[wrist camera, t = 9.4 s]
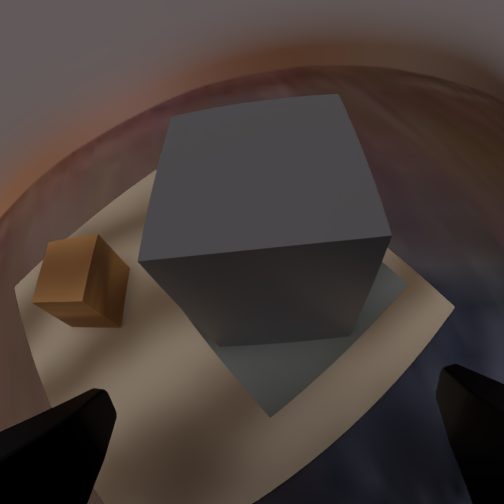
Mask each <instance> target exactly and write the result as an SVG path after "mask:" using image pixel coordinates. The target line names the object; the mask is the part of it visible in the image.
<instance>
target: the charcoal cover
mask: <svg viewBox="0 0 504 504" xmlns="http://www.w3.org/2000/svg"><path fill="white" fill-rule="evenodd" d="M391 237H392V234H391V231H390V228H389V224H388V221H387V218H386V215H385V212H384V208H383V205H382V202H381V199H380V196H379V193H378V191H377V188H376V185H375V182H374V179H373V176H372V174H371V171H370V168H369V166H368V163H367V160H366V158H365V155H364V153H363V150H362V147H361V145H360V142H359V140H358V138H357V135H356V133H355V130H354V128H353V126H352V123H351V121H350V119H349V116H348V114H347V112H346V109H345V107H344V105H343V103H342V101H341V98H340V96H339V94H329V95H313V96H301V97H290V98H280V99H271V100H263V101H255V102H248V103H241V104H235V105H229V106H223V107H217V108H211V109H206V110H201V111H196V112H191V113H186V114H181V115H177V116H172V117H171V120H170V123H169V126H168V130H167V133H166V137H165V141H164V144H163V148H162V152H161V155H160V159H159V163H158V167H157V171H156V175H155V179H154V183H153V188H152V192H151V196H150V201H149V205H148V210H147V214H146V219H145V224H144V229H143V234H142V239H141V245H140V250H139V256H138V261H137V262H138V263H139V264H140V265H141V266H142V267H143V268H144V269H145V270H146V272H147V273H148V274H149V275H150V276H151V277H152V278H153V279H154V280H155V281H156V282H157V284H158V285H159V286H160V287H161V288H162V289H163V290H164V291H165V292H166V293H167V294H168V295H169V296H170V297H171V298H172V299H173V301H174V302H175V303H176V304H177V305H178V306H179V307H180V308H181V309H182V310H183V311H184V312H185V313H186V314H187V315H188V316H189V317H190V318H191V319H192V320H193V321H194V322H195V323H196V324H197V325H198V326H199V327H200V328H201V329H202V330H203V331H204V332H205V333H206V334H207V335H208V336H209V337H210V338H211V339H212V340H213V341H214V342H215V343H216V344H217V345H218V346H219V347H226V346H246V345H262V344H276V343H289V342H300V341H310V340H320V339H329V338H338V337H346V336H350V334H351V332H352V330H353V328H354V326H355V324H356V322H357V319H358V317H359V315H360V313H361V311H362V308H363V306H364V304H365V302H366V299H367V297H368V295H369V292H370V290H371V288H372V285H373V283H374V280H375V278H376V275H377V273H378V271H379V268H380V266H381V263H382V260H383V258H384V255H385V253H386V250H387V247H388V245H389V242H390V239H391Z"/></svg>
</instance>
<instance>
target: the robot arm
mask: <svg viewBox="0 0 504 504" xmlns="http://www.w3.org/2000/svg"><path fill="white" fill-rule="evenodd" d="M436 399H437V403H438V406H439V409H440V412H441V415H442V419H443V422H444V425H445V429H446V432H447V436H448V439H449V442H450V445H451V448H452V451H453V453H454V455H455V458H456V460H457V463H458V465H459V468H460V471H461V473H462V476H463V478H464V481H465V484H466V486H467V489H468V492H469V495H470V498H471V500H472V503H473V504H504V384H502V383H500V382H498V381H495V380H493V379H490V378H488V377H486V376H483V375H481V374H479V373H476V372H474V371H472V370H470V369H467V368H465V367H463V366H460V365H458V364H452V365H448V366H445V367H443V368H442V369H441V372H440V376H439V381H438V385H437V390H436ZM116 418H117V413H116V409H115V407H114V405H113V403H112V401H111V398H110V396H109V394H108V392H107V391H106V390H104V389H98V388H92V389H90V390H88V391H86V392H84V393H82V394H80V395H78V396H76V397H74V398H72V399H70V400H68V401H66V402H64V403H61V404H59V405H57V406H55V407H53V408H51V409H49V410H47V411H45V412H43V413H40V414H38V415H36V416H34V417H32V418H30V419H27V420H25V421H23V422H21V423H19V424H16V425H14V426H12V427H10V428H8V429H5V430H3V431H1V432H0V504H87V503H88V500H89V498H90V495H91V492H92V490H93V487H94V485H95V482H96V480H97V477H98V475H99V472H100V470H101V467H102V465H103V462H104V459H105V456H106V453H107V449H108V446H109V442H110V439H111V435H112V432H113V429H114V425H115V422H116Z"/></svg>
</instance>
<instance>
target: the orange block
mask: <svg viewBox="0 0 504 504" xmlns="http://www.w3.org/2000/svg"><path fill="white" fill-rule="evenodd" d="M129 272H130V268H129V266H128V265H127V264H126V263H125V262H124V261H123V260H122V259H121V258H120V257H119V256H118V255H117V254H116V253H115V252H114V251H113V249H112V248H111V247H110V246H109V245H108V244H107V243H106V242H105V241H104V240H103V239H102V237H101V236H100V235H99V234H92V235H86V236H80V237H75V238H69V239H63V240H58V241H52V242H49V243H48V246H47V249H46V252H45V256H44V259H43V262H42V266H41V269H40V273H39V276H38V280H37V284H36V288H35V292H34V296H33V300H32V303H33V304H35V305H36V306H38V307H40V308H41V309H43V310H44V311H46V312H48V313H49V314H51V315H52V316H54V317H56V318H57V319H59V320H61V321H62V322H64V323H66V324H67V325H69V326H71V327H91V328H121V326H122V318H123V310H124V303H125V297H126V290H127V284H128V278H129Z"/></svg>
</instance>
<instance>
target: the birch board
mask: <svg viewBox="0 0 504 504" xmlns="http://www.w3.org/2000/svg"><path fill="white" fill-rule="evenodd" d="M156 171H157V169H156V170H155V171H153V172H152V173H151V174H149V175H148V176H146V177H145V178H144V179H142V180H141V181H139V182H138V183H137V184H135V185H134V186H133V187H131V188H130V189H128V190H127V191H126V192H124V193H123V194H122V195H120V196H119V197H118V198H117V199H115V200H114V201H113V202H111V203H110V204H109V205H107V206H106V207H105V208H104V209H102V210H101V211H100V212H99V213H97V214H96V215H95V216H94V217H92V218H91V219H90V220H89V221H87V222H86V223H85V224H84V225H83V226H81V227H80V228H79V229H78V230H77V231H75V232H74V233H73V234H72V235H71V236H70V237H68V238H67V239H69V238H75V237H80V236H86V235H92V234H99V235H100V236H101V237H102V239H103V240H104V241H105V242H106V243H107V244H108V245H109V246H110V247H111V248H112V249H113V251H114V252H115V253H116V254H117V255H118V256H119V257H120V258H121V259H122V260H123V261H124V262H125V263H126V264H127V265H128V266H129V268H130V272H129V278H128V284H127V290H126V297H125V303H124V310H123V318H122V326H121V328H91V327H71V326H69V325H67V324H66V323H64V322H62V321H61V320H59V319H57V318H56V317H54V316H52V315H51V314H49V313H48V312H46V311H44V310H43V309H41V308H40V307H38V306H36V305H35V304H33V303H32V300H33V296H34V292H35V288H36V284H37V280H38V276H39V273H40V269H41V266H42V262H43V261H41V262H40V263H39V264H38V265H37V266H36V267H35V268H34V269H33V270H32V271H31V272H30V273H29V274H28V275H27V276H26V277H25V278H24V279H22V280H21V281H20V282H19V283H18V284H17V285H16V286H15V287H14V288H15V293H16V297H17V302H18V306H19V310H20V314H21V318H22V322H23V326H24V329H25V333H26V336H27V340H28V343H29V346H30V350H31V353H32V356H33V359H34V362H35V365H36V368H37V370H38V373H39V376H40V379H41V381H42V384H43V387H44V389H45V392H46V394H47V397H48V399H49V402H50V404H51V406H52V408H53V407H55V406H57V405H59V404H61V403H64V402H66V401H68V400H70V399H72V398H74V397H76V396H78V395H80V394H82V393H84V392H86V391H88V390H90V389H92V388H98V389H104V390H106V391H107V392H108V394H109V396H110V398H111V401H112V403H113V405H114V407H115V409H116V413H117V418H116V422H115V425H114V429H113V432H112V435H111V439H110V442H109V446H108V449H107V453H106V456H105V459H104V462H103V465H102V467H101V470H100V472H99V475H98V477H97V480H96V482H95V485H94V489H95V490H96V492H97V494H98V495H99V497H100V498H101V500H102V501H103V503H104V504H253V503H254V502H256V501H257V500H259V499H260V498H262V497H263V496H265V495H266V494H268V493H269V492H271V491H272V490H273V489H275V488H276V487H278V486H279V485H281V484H282V483H283V482H285V481H286V480H287V479H289V478H290V477H291V476H293V475H294V474H295V473H297V472H298V471H299V470H301V469H302V468H303V467H305V466H306V465H307V464H308V463H310V462H311V461H312V460H313V459H315V458H316V457H317V456H318V455H319V454H321V453H322V452H323V451H324V450H325V449H327V448H328V447H329V446H330V445H331V444H332V443H334V442H335V441H336V440H337V439H338V438H339V437H340V436H341V435H343V434H344V433H345V432H346V431H347V430H348V429H349V428H350V427H351V426H352V425H353V424H354V423H356V422H357V421H358V420H359V419H360V418H361V417H362V416H363V415H364V414H365V413H366V412H367V411H368V410H369V409H370V408H371V407H372V406H373V405H374V404H375V403H376V402H377V401H378V400H379V399H380V398H381V397H382V396H383V395H384V394H385V393H386V391H387V390H388V389H389V388H390V387H391V386H392V385H393V384H394V383H395V382H396V381H397V379H398V378H399V377H400V376H401V375H402V374H403V373H404V372H405V370H406V369H407V368H408V367H409V366H410V365H411V363H412V362H413V361H414V360H415V359H416V358H417V356H418V355H419V354H420V353H421V351H422V350H423V349H424V348H425V347H426V345H427V344H428V343H429V342H430V340H431V339H432V338H433V336H434V335H435V334H436V332H437V331H438V330H439V329H440V327H441V326H442V324H443V323H444V322H445V320H446V319H447V318H448V316H449V315H450V313H451V312H452V311H453V309H454V308H455V307H454V306H453V305H452V304H451V303H450V302H449V301H448V300H447V299H446V298H445V297H444V296H442V295H441V294H440V293H439V292H438V291H437V290H436V289H435V288H434V287H432V286H431V285H430V284H429V283H428V282H427V281H426V280H425V279H423V278H422V277H421V276H420V275H419V274H418V273H417V272H415V271H414V270H413V269H412V268H411V267H410V266H408V265H407V264H406V263H405V262H404V261H403V260H401V259H400V258H399V257H398V256H397V255H395V254H394V253H393V252H392V251H391V250H389V249H388V248H387V250H386V253H385V255H384V258H383V260H382V263H381V266H380V268H379V271H378V273H377V275H376V278H375V280H374V283H373V285H372V288H371V290H370V292H369V295H368V297H367V299H366V302H365V304H364V306H363V308H362V311H361V313H360V315H359V317H358V319H357V322H356V324H355V326H354V328H353V330H352V332H351V334H350V336H346V337H338V338H329V339H320V340H310V341H300V342H289V343H276V344H262V345H246V346H226V347H219V346H218V345H217V344H216V343H215V342H214V341H213V340H212V339H211V338H210V337H209V336H208V335H207V334H206V333H205V332H204V331H203V330H202V329H201V328H200V327H199V326H198V325H197V324H196V323H195V322H194V321H193V320H192V319H191V318H190V317H189V316H188V315H187V314H186V313H185V312H184V311H183V310H182V309H181V308H180V307H179V306H178V305H177V304H176V303H175V302H174V301H173V299H172V298H171V297H170V296H169V295H168V294H167V293H166V292H165V291H164V290H163V289H162V288H161V287H160V286H159V285H158V284H157V282H156V281H155V280H154V279H153V278H152V277H151V276H150V275H149V274H148V273H147V272H146V270H145V269H144V268H143V267H142V266H141V265H140V264H139V263H138V262H137V261H138V256H139V250H140V245H141V239H142V234H143V229H144V224H145V219H146V214H147V210H148V205H149V201H150V196H151V192H152V188H153V183H154V179H155V175H156Z"/></svg>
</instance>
